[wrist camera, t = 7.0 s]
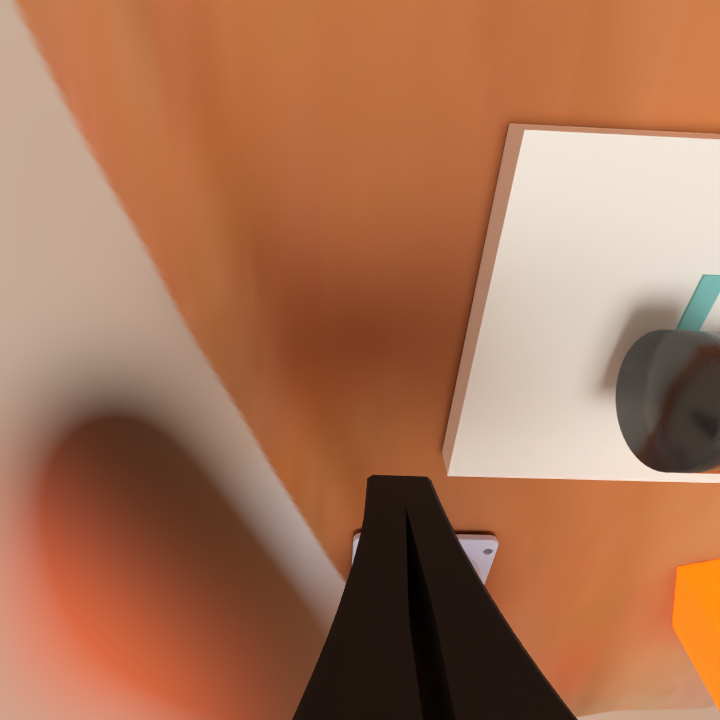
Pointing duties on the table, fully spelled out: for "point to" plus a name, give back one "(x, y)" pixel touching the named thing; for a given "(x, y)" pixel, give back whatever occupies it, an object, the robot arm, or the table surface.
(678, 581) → the orange juice
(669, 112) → the table surface
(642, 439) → the shaft
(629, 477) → the shaft stand
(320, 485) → the table surface
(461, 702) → the robot arm
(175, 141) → the table surface
